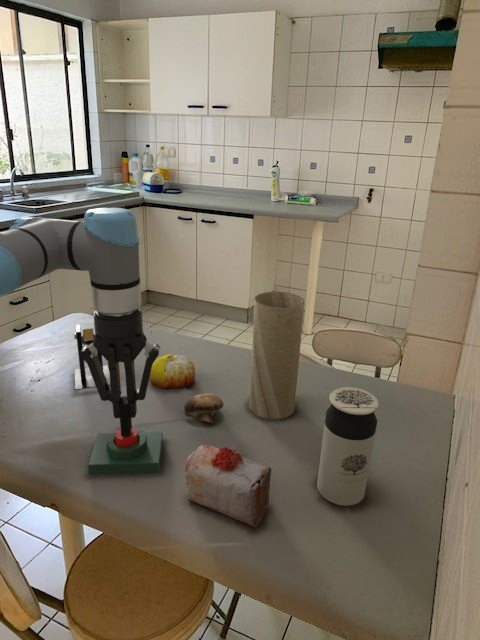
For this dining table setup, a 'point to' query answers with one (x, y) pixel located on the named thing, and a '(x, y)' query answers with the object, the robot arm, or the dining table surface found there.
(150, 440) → the button box
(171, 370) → the fruit
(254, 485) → the food item
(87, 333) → the lever
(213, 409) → the mushroom
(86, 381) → the bracket
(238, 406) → the dining table surface
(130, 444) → the button
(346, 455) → the travel mug
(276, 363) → the tube
